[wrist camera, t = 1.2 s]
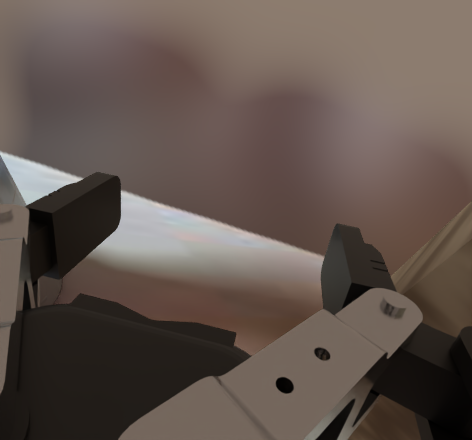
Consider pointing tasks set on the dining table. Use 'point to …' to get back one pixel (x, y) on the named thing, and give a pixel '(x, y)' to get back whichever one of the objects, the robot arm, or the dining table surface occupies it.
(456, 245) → the zigzag patterned tall block
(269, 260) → the dining table surface
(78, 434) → the robot arm
